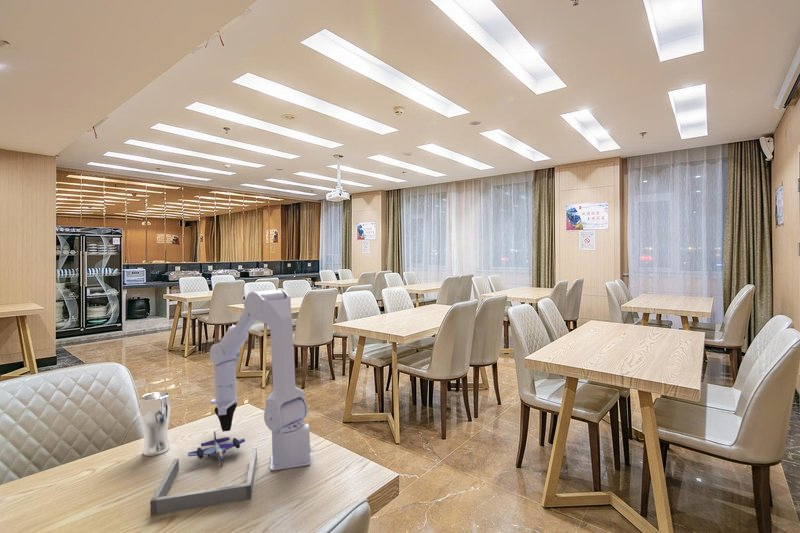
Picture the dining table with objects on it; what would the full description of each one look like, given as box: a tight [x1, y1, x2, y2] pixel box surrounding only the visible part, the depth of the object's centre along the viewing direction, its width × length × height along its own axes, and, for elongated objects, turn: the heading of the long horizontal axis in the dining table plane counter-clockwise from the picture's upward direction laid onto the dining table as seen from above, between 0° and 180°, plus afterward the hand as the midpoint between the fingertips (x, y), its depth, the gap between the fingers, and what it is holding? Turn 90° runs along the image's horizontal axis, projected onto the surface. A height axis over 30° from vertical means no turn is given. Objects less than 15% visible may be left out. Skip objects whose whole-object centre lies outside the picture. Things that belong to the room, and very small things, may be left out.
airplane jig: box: [150, 447, 258, 516], centre depth 90 cm, size 19×17×3 cm
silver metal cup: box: [139, 391, 171, 457], centre depth 106 cm, size 7×7×15 cm
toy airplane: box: [187, 430, 246, 468], centre depth 102 cm, size 13×14×4 cm
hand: (226, 430), depth 115 cm, fingers closed
